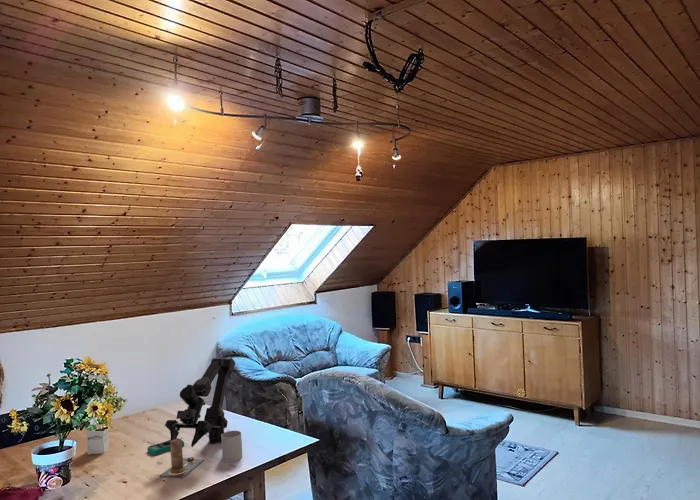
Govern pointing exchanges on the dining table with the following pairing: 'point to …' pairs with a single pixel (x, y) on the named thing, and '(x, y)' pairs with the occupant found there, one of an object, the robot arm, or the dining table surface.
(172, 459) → the walnut post
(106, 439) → the supplement box
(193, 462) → the gauge plate
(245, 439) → the dining table surface
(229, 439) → the cup
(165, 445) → the digital multimeter
